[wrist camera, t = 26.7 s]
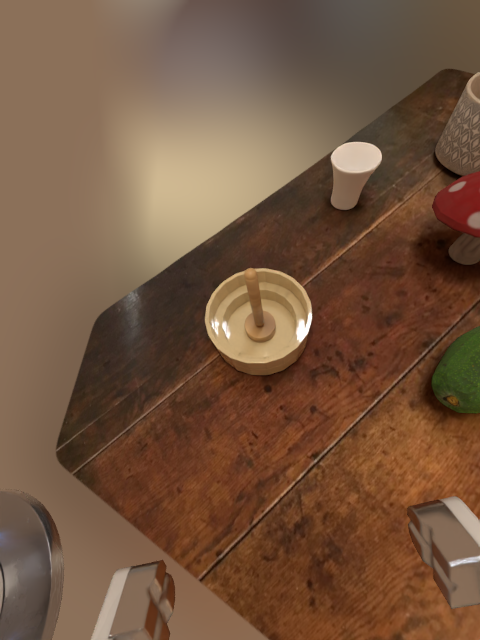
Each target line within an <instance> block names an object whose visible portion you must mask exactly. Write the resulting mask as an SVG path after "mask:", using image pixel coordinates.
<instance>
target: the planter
mask: <svg viewBox="0 0 480 640" xmlns="http://www.w3.org/2000/svg"><path fill="white" fill-rule="evenodd" d="M435 153H436V157H437V159H438V160H439V162H440V163H441V164H442V165H443V166H445V167H446V168H448V169H449V170H450V171H452V172H454V173H456V174H458V175H461V176H465V175H468V174H471V173H475V172H478V171H480V72H479V73H477V74H475V75H474V76H473V77H472V78H471V79H470V80H469V82H468V83H467V85H466V87H465V89H464V91H463V93H462V95H461V97H460V99H459V101H458V103H457V105H456V107H455V109H454V111H453V113H452V115H451V117H450V119H449V121H448V123H447V125H446V127H445V129H444V131H443V133H442V135H441V137H440V139H439V141H438V143H437V145H436V149H435Z"/></svg>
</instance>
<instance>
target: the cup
mask: <svg viewBox="0 0 480 640" xmlns="http://www.w3.org/2000/svg"><path fill="white" fill-rule="evenodd" d="M381 159H382V154H381V152H380V150H379V149H378V148H377V147H376V146H374V145H372V144H369V143H364V142H351V143H345V144H343V145H342V146H340V147H338V148H337V149H336V150H335V151H334V152H333V154H332V156H331V162H332V167H333V177H334V184H333V192H332V196H331V204H332V205H333V206H334V207H335V208H337V209H340V210H349V209H351V208H353V207H354V206H355V205H356V204H357V202H358V199H359V196H360V193H361V191H362V188H363V186H364V185H365V183H366V182H367V180H368V179H369V176H370V175H371V174H372V173H373V172H374V170H375V169H376V168H377V167H378V166H379V164H380V163H381Z"/></svg>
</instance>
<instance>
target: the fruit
mask: <svg viewBox="0 0 480 640" xmlns="http://www.w3.org/2000/svg"><path fill="white" fill-rule="evenodd" d="M431 386H432V389H433V391H434V394H435V396H436V398H437V399H438V400H439V401H440V402H441V403H442V404H443V405H445V406H447V407H448V408H450V409H452V410H454V411H456V412H458V413H480V326H478V327H476V328H474V329H473V330H471V331H469V332H467V333H465V334H463V335H462V336H460V337H458V338H457V339H456V340H455V341H454V342H453V343H452V344H451V345H450V346H449V347H448V349H447V351H446V352H445V354H444V356H443V357H442V359H441V361H440V362H439V364H438V366H437V368H436V370H435V372H434V374H433V376H432V385H431Z"/></svg>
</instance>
